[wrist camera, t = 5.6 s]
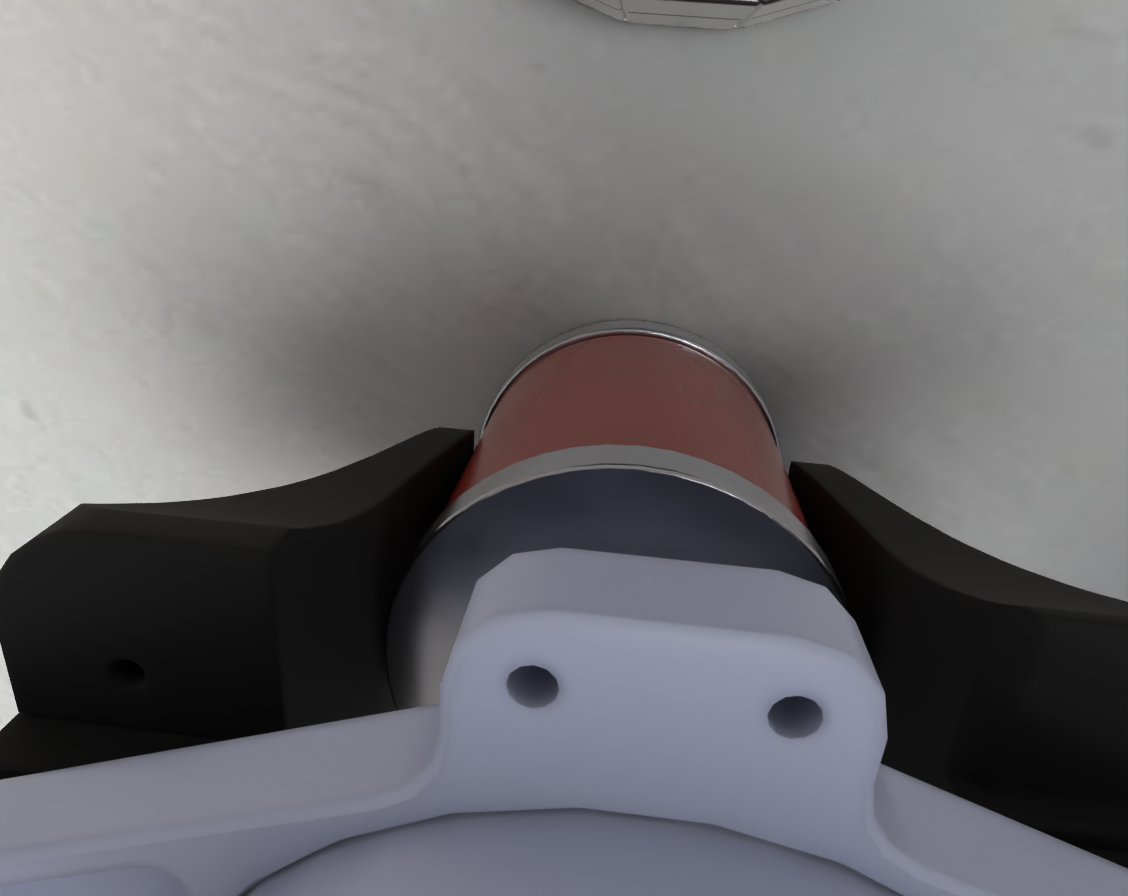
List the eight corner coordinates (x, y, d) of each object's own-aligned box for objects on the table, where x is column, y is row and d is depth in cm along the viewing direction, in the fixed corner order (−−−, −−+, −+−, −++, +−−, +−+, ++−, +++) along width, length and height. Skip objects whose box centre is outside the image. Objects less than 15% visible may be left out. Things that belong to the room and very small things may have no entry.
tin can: (751, 602, 16) (811, 878, 10) (478, 572, 16) (387, 824, 10) (802, 333, 14) (915, 493, 8) (485, 305, 14) (375, 440, 8)
